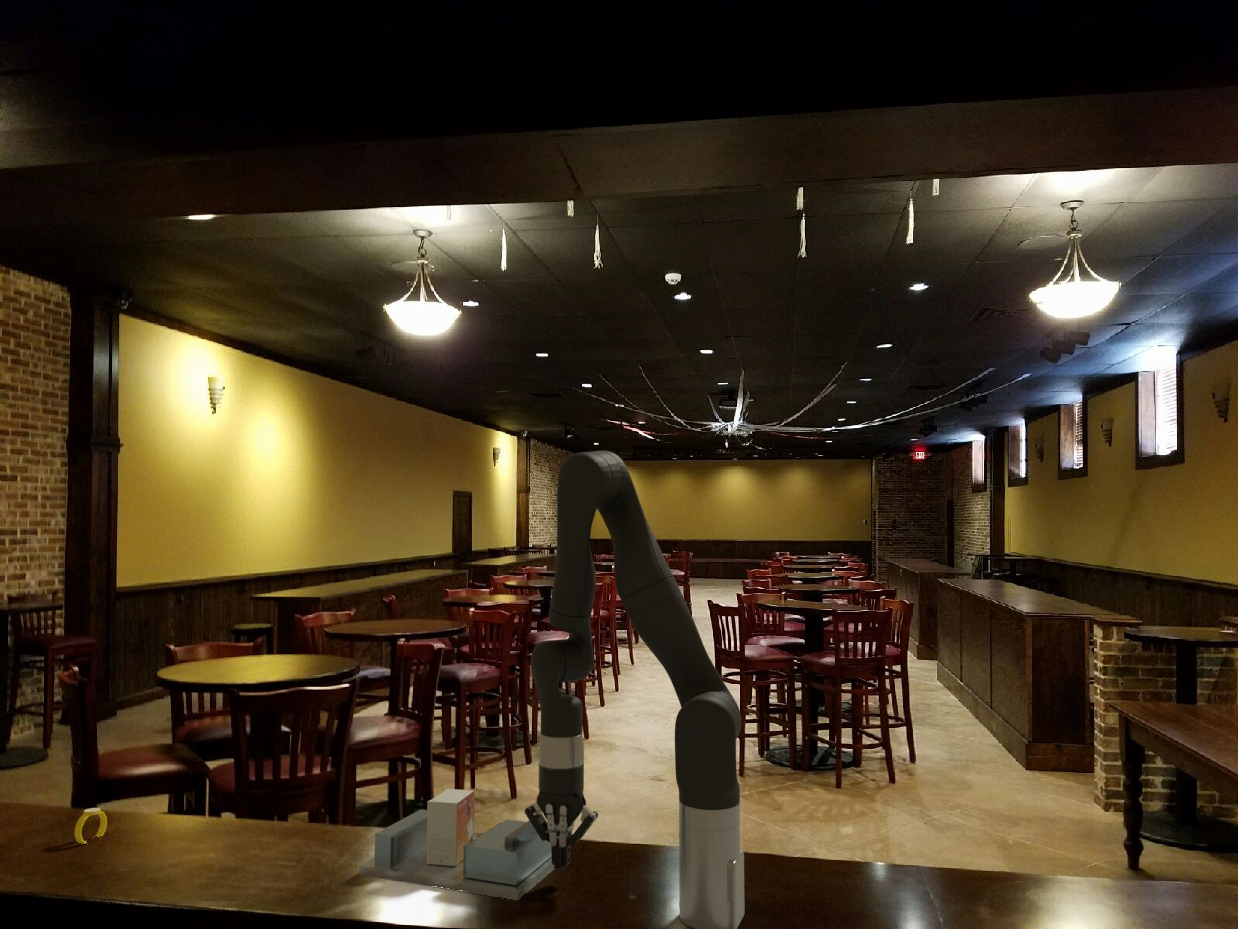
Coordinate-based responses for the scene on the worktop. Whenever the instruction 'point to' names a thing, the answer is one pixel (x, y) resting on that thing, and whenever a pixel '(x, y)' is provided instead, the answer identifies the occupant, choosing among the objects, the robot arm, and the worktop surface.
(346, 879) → the worktop surface
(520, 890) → the vise base
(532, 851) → the sliding jaw
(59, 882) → the worktop surface
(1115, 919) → the worktop surface
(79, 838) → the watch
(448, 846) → the small box
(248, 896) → the worktop surface
